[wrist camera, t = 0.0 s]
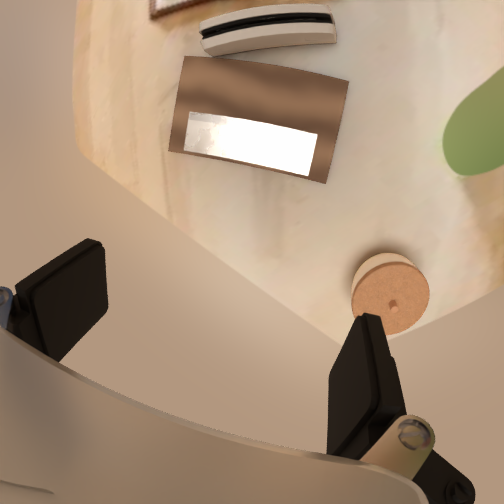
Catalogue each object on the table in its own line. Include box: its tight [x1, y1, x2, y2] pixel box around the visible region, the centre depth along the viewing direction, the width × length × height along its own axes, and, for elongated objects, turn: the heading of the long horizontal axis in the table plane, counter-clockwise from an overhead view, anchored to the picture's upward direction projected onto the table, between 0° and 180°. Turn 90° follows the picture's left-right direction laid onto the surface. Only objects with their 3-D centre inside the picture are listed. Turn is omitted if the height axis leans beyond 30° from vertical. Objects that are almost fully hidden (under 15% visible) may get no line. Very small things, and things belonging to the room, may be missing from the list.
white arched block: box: [199, 4, 337, 57], centre depth 28 cm, size 17×5×10 cm, turn 97°
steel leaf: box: [184, 112, 317, 176], centre depth 37 cm, size 6×17×1 cm, turn 79°
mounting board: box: [168, 56, 349, 184], centre depth 37 cm, size 14×22×1 cm, turn 79°
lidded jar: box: [351, 253, 429, 335], centre depth 38 cm, size 11×11×9 cm
